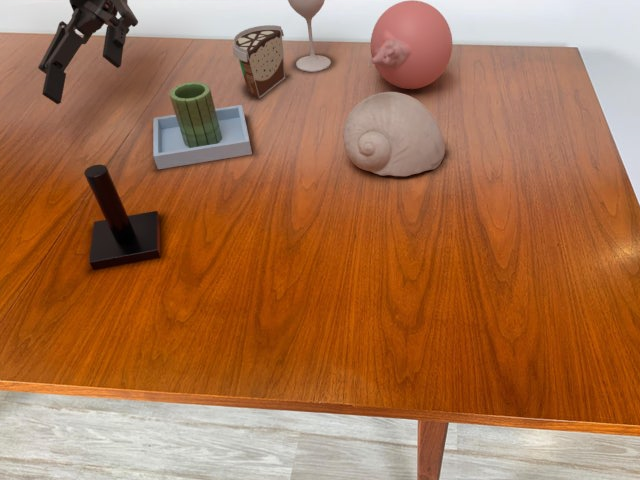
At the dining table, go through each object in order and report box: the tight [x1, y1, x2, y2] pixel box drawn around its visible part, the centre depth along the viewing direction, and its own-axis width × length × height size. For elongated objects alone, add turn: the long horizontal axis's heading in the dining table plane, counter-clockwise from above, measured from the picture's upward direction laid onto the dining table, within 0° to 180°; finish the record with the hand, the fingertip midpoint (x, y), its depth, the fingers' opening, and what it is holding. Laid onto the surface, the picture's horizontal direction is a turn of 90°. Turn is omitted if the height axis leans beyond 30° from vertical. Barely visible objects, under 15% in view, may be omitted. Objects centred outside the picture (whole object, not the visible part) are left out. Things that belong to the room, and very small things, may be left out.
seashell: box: [342, 91, 446, 177], centre depth 95 cm, size 15×14×15 cm
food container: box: [232, 24, 286, 100], centre depth 112 cm, size 12×6×10 cm, turn 154°
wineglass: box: [287, 0, 332, 73], centre depth 114 cm, size 8×8×21 cm
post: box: [83, 164, 161, 271], centre depth 79 cm, size 9×9×12 cm
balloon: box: [370, 0, 453, 90], centre depth 108 cm, size 15×20×15 cm
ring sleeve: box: [169, 81, 222, 148], centre depth 98 cm, size 6×6×9 cm
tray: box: [152, 104, 253, 170], centre depth 101 cm, size 16×13×3 cm
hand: (80, 80), depth 91 cm, fingers open, 13 cm apart
